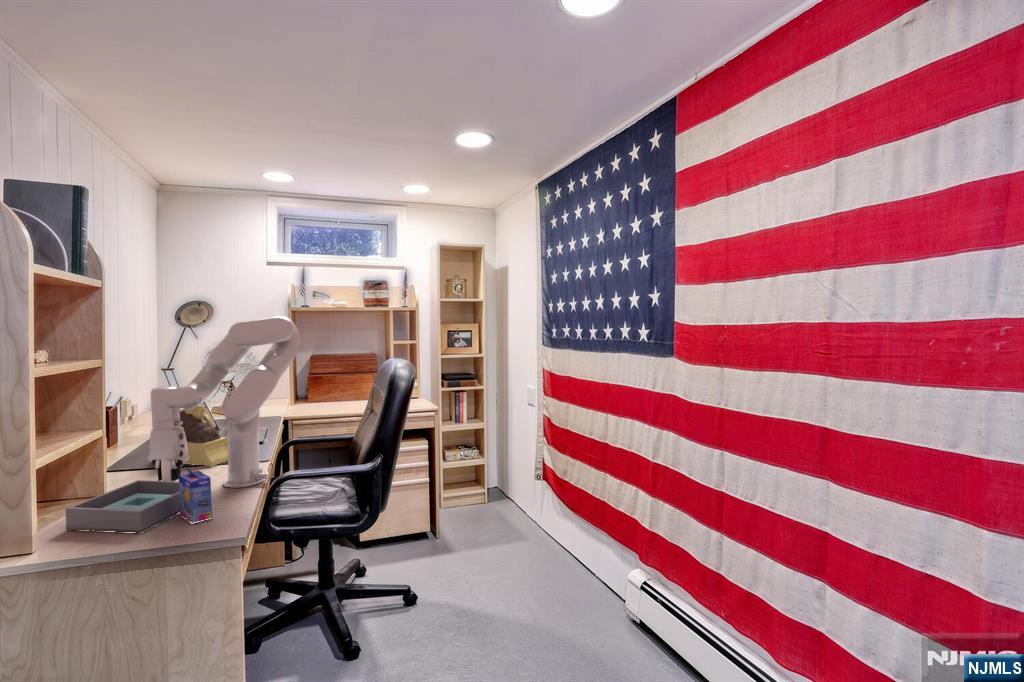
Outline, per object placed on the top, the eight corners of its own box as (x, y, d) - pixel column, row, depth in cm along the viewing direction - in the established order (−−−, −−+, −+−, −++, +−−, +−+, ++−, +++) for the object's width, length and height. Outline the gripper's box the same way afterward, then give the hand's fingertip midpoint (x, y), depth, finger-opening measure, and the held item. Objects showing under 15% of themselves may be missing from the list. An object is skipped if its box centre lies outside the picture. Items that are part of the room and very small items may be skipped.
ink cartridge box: (178, 516, 141) (177, 466, 140) (200, 510, 145) (199, 461, 145) (190, 525, 135) (189, 473, 134) (213, 519, 139) (212, 468, 138)
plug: (180, 485, 164) (178, 455, 164) (171, 489, 160) (169, 459, 160) (168, 485, 164) (167, 455, 164) (159, 489, 160) (157, 459, 160)
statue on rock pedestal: (238, 458, 199) (237, 384, 198) (211, 467, 187) (210, 388, 186) (182, 453, 206) (181, 381, 205) (153, 461, 194) (151, 385, 192)
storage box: (202, 501, 152) (202, 482, 152) (140, 534, 129) (140, 511, 129) (138, 499, 154) (137, 480, 153) (66, 530, 131) (65, 508, 130)
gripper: (198, 421, 164) (201, 476, 165) (151, 421, 165) (154, 475, 166) (182, 427, 157) (185, 483, 158) (132, 427, 158) (136, 483, 159)
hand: (169, 478), depth 162 cm, fingers closed on plug, 4 cm apart
